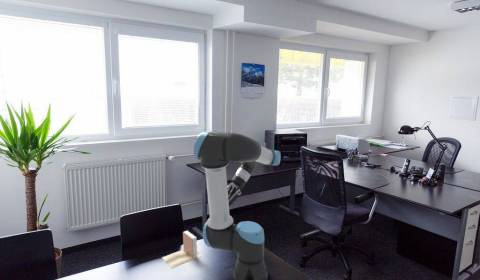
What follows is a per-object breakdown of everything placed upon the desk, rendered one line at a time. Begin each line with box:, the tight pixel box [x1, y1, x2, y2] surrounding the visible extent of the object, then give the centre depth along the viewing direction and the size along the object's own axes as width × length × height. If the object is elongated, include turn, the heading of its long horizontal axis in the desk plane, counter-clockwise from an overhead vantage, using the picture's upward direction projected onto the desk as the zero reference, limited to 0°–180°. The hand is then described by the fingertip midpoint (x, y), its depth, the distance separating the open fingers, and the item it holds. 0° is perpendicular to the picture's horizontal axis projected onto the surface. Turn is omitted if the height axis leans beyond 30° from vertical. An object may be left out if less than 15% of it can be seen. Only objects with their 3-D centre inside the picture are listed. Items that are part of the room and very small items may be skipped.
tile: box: [182, 230, 198, 258], centre depth 147 cm, size 9×2×10 cm, turn 39°
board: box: [161, 248, 203, 269], centre depth 145 cm, size 11×16×1 cm
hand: (215, 215), depth 155 cm, fingers closed
